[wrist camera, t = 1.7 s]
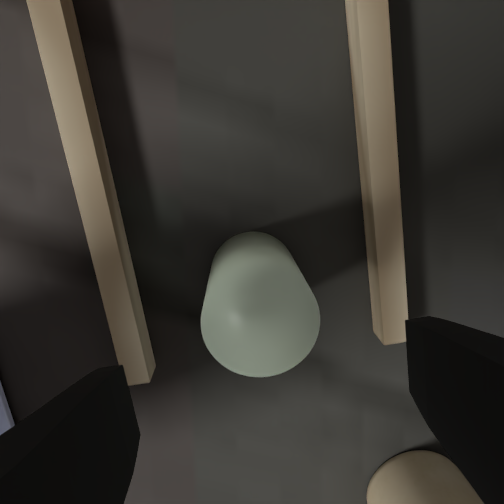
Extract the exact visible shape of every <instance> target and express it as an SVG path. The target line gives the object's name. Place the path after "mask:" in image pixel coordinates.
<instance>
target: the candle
mask: <svg viewBox="0 0 504 504" xmlns="http://www.w3.org/2000/svg"><path fill="white" fill-rule="evenodd" d="M367 503H368V504H484V503H483V502H482V500H481V499H480V497H479V496H478V495H477V493H476V492H475V490H474V489H473V488H472V486H471V485H470V483H469V482H468V481H467V479H466V478H465V477H464V475H463V474H462V473H461V471H460V470H459V469H458V467H457V466H456V465H455V464H454V463H452V462H451V461H450V460H449V459H448V458H446V457H445V456H443V455H441V454H439V453H436V452H432V451H426V450H415V451H409V452H405V453H402V454H399V455H396V456H394V457H393V458H391V459H389V460H388V461H386V462H385V463H384V464H382V465H381V466H380V467H379V468H378V469H377V471H376V472H375V473H374V475H373V476H372V478H371V480H370V482H369V485H368V489H367Z"/></svg>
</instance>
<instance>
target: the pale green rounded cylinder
mask: <svg viewBox="0 0 504 504" xmlns="http://www.w3.org/2000/svg"><path fill="white" fill-rule="evenodd" d="M319 329H320V311H319V306H318V304H317V301H316V298H315V296H314V294H313V293H312V291H311V289H310V287H309V285H308V284H307V282H306V280H305V278H304V277H303V275H302V273H301V271H300V270H299V268H298V266H297V264H296V262H295V261H294V259H293V257H292V255H291V254H290V252H289V250H288V249H287V247H286V246H285V245H284V244H283V243H282V242H281V241H280V240H278V239H277V238H275V237H274V236H272V235H269V234H266V233H263V232H255V231H251V232H244V233H240V234H237V235H235V236H233V237H231V238H230V239H228V240H227V241H225V242H224V243H223V244H222V245H221V247H220V248H219V249H218V251H217V252H216V254H215V256H214V258H213V261H212V265H211V270H210V275H209V280H208V284H207V289H206V294H205V299H204V303H203V308H202V314H201V332H202V336H203V340H204V342H205V344H206V347H207V348H208V350H209V352H210V353H211V354H212V356H213V357H214V358H215V359H216V360H217V361H218V362H219V363H220V364H221V365H223V366H224V367H226V368H227V369H229V370H231V371H233V372H235V373H238V374H241V375H245V376H250V377H269V376H274V375H278V374H281V373H283V372H286V371H288V370H290V369H291V368H293V367H295V366H296V365H297V364H299V363H300V362H301V361H302V360H303V359H304V358H305V357H306V356H307V355H308V354H309V352H310V351H311V349H312V348H313V346H314V344H315V342H316V340H317V337H318V333H319Z"/></svg>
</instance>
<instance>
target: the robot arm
mask: <svg viewBox="0 0 504 504" xmlns="http://www.w3.org/2000/svg"><path fill="white" fill-rule="evenodd" d="M405 331H406V346H407V361H408V376H409V392H410V393H411V395H412V397H413V399H414V401H415V403H416V405H417V407H418V409H419V411H420V412H421V414H422V416H423V418H424V420H425V421H426V423H427V425H428V427H429V428H430V429H431V431H432V432H433V434H434V435H435V436H436V438H437V439H438V441H439V442H440V443H441V445H442V446H443V447H444V449H445V450H446V452H447V453H448V454H449V456H450V457H451V458H452V460H453V461H454V463H455V464H456V465H457V467H458V468H459V469H460V471H461V472H462V473H463V475H464V476H465V478H466V479H467V480H468V482H469V483H470V484H471V486H472V487H473V488H474V490H475V491H476V492H477V494H478V495H479V497H480V498H481V499H482V501H483V502H484V503H485V504H504V338H502V337H499V336H496V335H493V334H489V333H486V332H483V331H480V330H477V329H474V328H471V327H467V326H464V325H461V324H458V323H455V322H451V321H448V320H444V319H440V318H436V317H430V316H427V317H421V318H414V319H408V320H405ZM139 440H140V431H139V427H138V423H137V419H136V415H135V411H134V407H133V403H132V399H131V395H130V391H129V387H128V383H127V379H126V375H125V371H124V367H123V365H118V366H111V367H105V368H99V369H97V370H95V371H93V372H91V373H90V374H88V375H87V376H85V377H84V378H82V379H81V380H79V381H78V382H76V383H75V384H73V385H72V386H70V387H69V388H68V389H66V390H65V391H63V392H62V393H61V394H59V395H58V396H56V397H55V398H54V399H52V400H51V401H49V402H48V403H47V404H45V405H44V406H42V407H41V408H40V409H38V410H37V411H35V412H34V413H33V414H31V415H30V416H28V417H27V418H25V419H24V420H22V421H21V422H19V423H18V424H16V425H15V424H14V421H13V418H12V415H11V412H10V409H9V406H8V403H7V400H6V397H5V394H4V391H3V388H2V385H1V382H0V504H124V501H125V497H126V494H127V491H128V488H129V485H130V482H131V479H132V475H133V472H134V467H135V462H136V457H137V451H138V445H139Z"/></svg>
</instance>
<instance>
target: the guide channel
mask: <svg viewBox="0 0 504 504" xmlns="http://www.w3.org/2000/svg"><path fill="white" fill-rule="evenodd" d="M26 1H27V5H28V9H29V13H30V16H31V20H32V24H33V28H34V32H35V36H36V40H37V44H38V48H39V52H40V56H41V60H42V64H43V68H44V72H45V76H46V80H47V84H48V88H49V91H50V95H51V99H52V103H53V107H54V111H55V115H56V119H57V123H58V127H59V131H60V135H61V139H62V143H63V147H64V151H65V155H66V159H67V163H68V166H69V170H70V174H71V178H72V182H73V186H74V190H75V194H76V198H77V202H78V206H79V210H80V214H81V218H82V222H83V226H84V230H85V234H86V238H87V241H88V245H89V249H90V253H91V257H92V261H93V265H94V269H95V273H96V277H97V281H98V285H99V289H100V293H101V297H102V301H103V305H104V309H105V312H106V316H107V320H108V324H109V328H110V332H111V336H112V340H113V344H114V348H115V352H116V356H117V360H118V364H119V365H123V367H124V371H125V375H126V379H127V383H128V386H130V385H137V384H143V383H149V382H150V381H151V378H152V375H153V373H154V370H155V367H156V364H155V360H154V355H153V351H152V346H151V342H150V338H149V333H148V329H147V325H146V320H145V316H144V312H143V307H142V303H141V299H140V294H139V290H138V285H137V281H136V277H135V272H134V268H133V264H132V259H131V255H130V251H129V246H128V242H127V238H126V233H125V229H124V224H123V220H122V216H121V211H120V207H119V203H118V198H117V194H116V190H115V185H114V181H113V176H112V172H111V168H110V163H109V159H108V155H107V150H106V146H105V142H104V137H103V133H102V129H101V124H100V120H99V115H98V111H97V107H96V102H95V98H94V94H93V89H92V85H91V81H90V76H89V72H88V67H87V63H86V59H85V54H84V50H83V46H82V41H81V37H80V33H79V28H78V24H77V20H76V15H75V11H74V6H73V2H72V0H26ZM345 7H346V19H347V30H348V42H349V53H350V65H351V77H352V88H353V100H354V111H355V123H356V135H357V146H358V158H359V169H360V181H361V193H362V204H363V216H364V228H365V239H366V251H367V262H368V274H369V286H370V297H371V309H372V320H373V332H374V333H375V334H376V335H377V337H378V338H379V339H380V340H381V342H382V343H383V344H384V345H389V344H395V343H401V342H406V331H405V320H408V307H407V291H406V275H405V260H404V244H403V228H402V212H401V197H400V181H399V165H398V149H397V134H396V118H395V102H394V86H393V71H392V55H391V39H390V23H389V8H388V0H345Z"/></svg>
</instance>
